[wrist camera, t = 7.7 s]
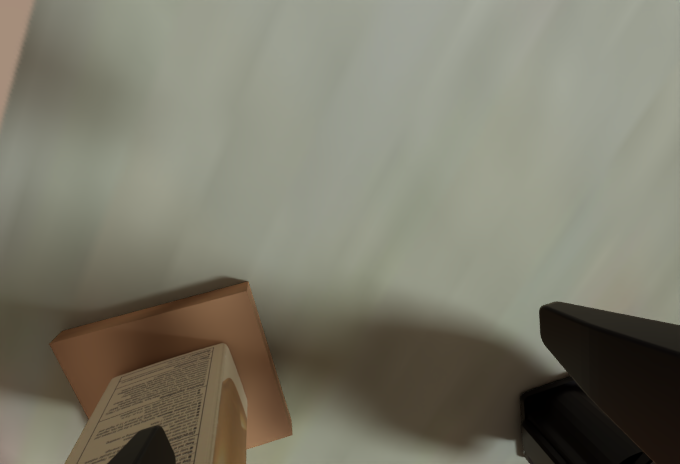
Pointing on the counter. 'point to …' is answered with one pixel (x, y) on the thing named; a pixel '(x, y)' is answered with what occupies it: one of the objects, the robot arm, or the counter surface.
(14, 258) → the counter surface
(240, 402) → the skincare box
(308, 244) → the counter surface
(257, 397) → the brown flat square block
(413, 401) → the counter surface
